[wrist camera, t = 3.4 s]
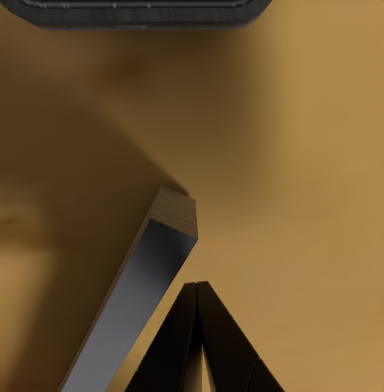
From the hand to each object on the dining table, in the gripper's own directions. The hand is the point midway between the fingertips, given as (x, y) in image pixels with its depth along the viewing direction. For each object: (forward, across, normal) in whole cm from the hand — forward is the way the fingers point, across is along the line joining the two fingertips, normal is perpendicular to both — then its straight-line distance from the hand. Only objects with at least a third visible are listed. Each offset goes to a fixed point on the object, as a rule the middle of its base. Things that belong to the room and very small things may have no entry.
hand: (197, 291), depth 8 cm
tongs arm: (+2, +7, +5) cm, 9 cm away
